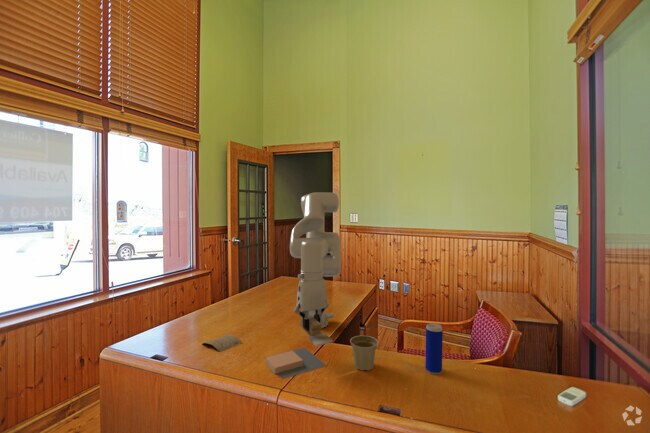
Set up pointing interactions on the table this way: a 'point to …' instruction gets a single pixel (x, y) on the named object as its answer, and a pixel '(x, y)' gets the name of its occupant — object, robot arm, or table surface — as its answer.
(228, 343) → the clay tablet
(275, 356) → the tile
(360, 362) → the flower pot
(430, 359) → the beverage can
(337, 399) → the table surface
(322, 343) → the brown piece
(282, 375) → the mat
